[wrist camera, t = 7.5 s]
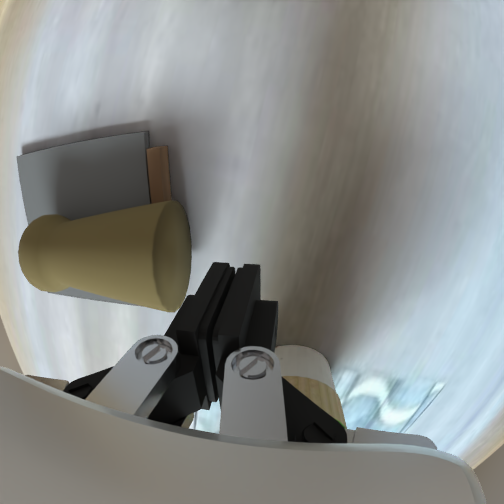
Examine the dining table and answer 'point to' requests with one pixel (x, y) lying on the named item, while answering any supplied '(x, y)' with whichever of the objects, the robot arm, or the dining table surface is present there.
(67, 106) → the dining table surface
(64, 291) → the charcoal mat
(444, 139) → the dining table surface
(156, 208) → the cork
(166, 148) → the walnut strip
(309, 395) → the coffee cup
